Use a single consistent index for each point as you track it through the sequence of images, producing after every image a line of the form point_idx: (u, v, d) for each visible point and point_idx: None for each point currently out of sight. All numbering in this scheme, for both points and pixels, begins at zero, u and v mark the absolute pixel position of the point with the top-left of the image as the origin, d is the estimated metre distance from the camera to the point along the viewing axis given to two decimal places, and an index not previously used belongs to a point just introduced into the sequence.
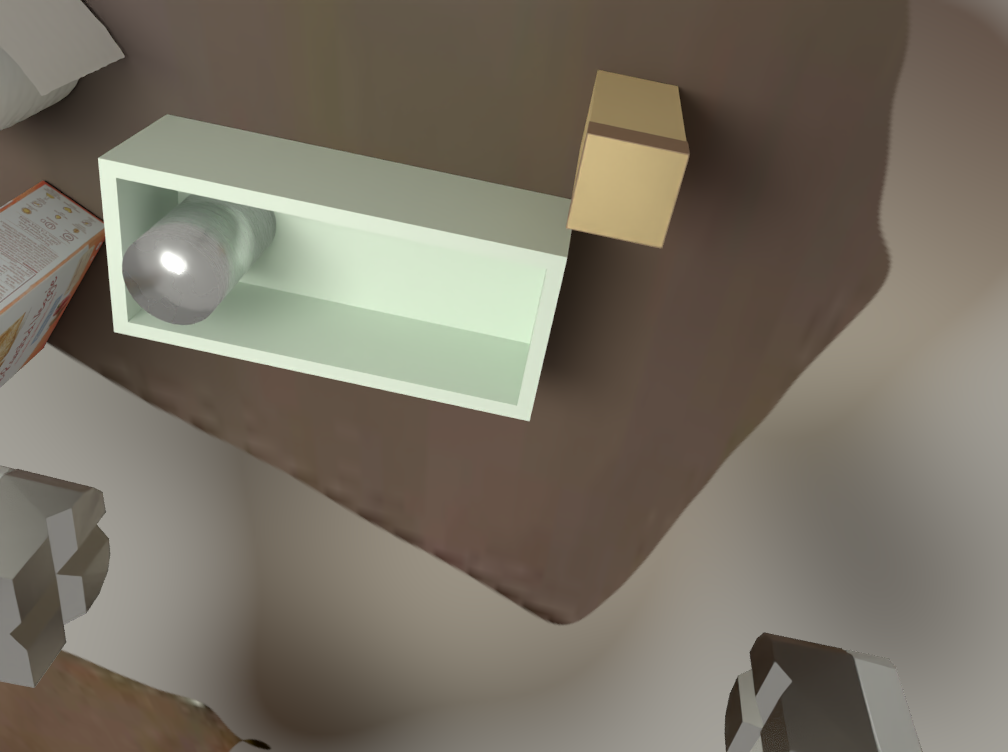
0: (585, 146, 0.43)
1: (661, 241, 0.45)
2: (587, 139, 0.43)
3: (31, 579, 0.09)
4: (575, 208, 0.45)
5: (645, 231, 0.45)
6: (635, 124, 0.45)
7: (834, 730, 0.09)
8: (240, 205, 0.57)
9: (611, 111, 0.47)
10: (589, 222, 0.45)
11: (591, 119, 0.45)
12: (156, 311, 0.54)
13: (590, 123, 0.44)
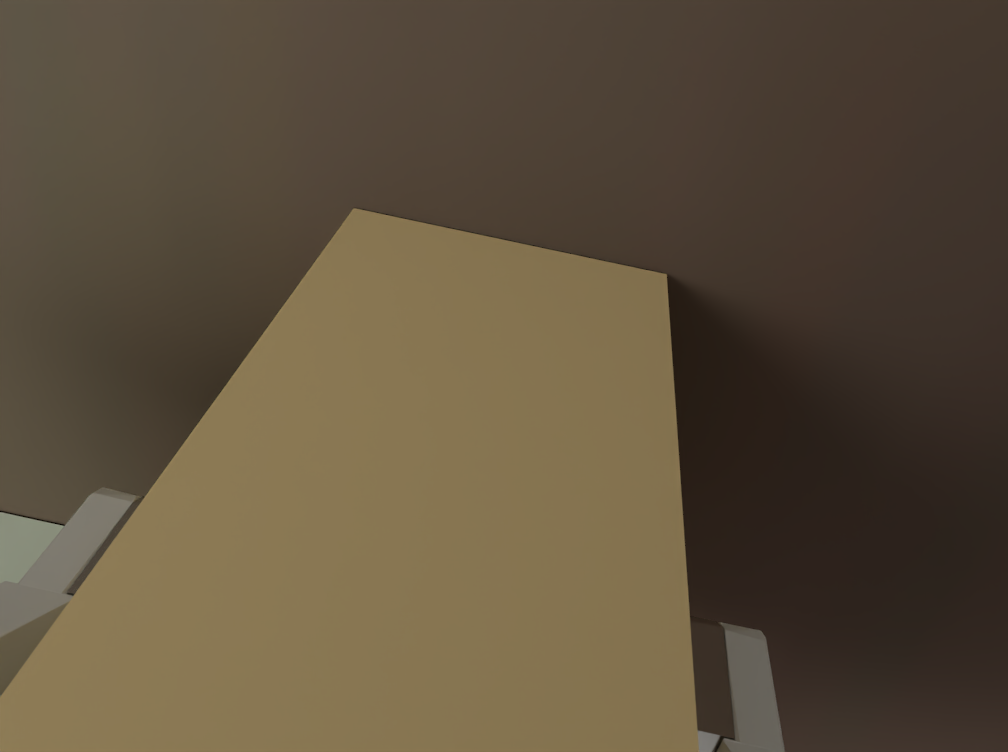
0: None
1: None
2: None
3: None
4: None
5: None
6: None
7: None
8: None
9: (195, 634, 0.07)
10: None
11: None
12: None
13: None
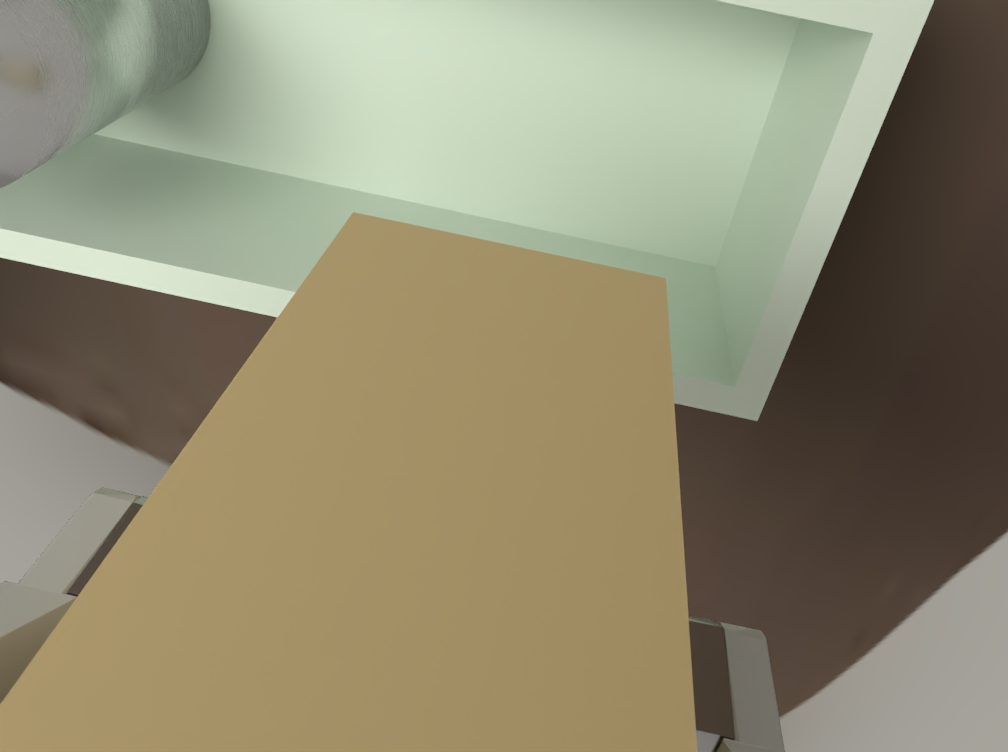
0: None
1: None
2: None
3: None
4: None
5: None
6: None
7: None
8: None
9: (195, 641, 0.07)
10: None
11: None
12: None
13: None
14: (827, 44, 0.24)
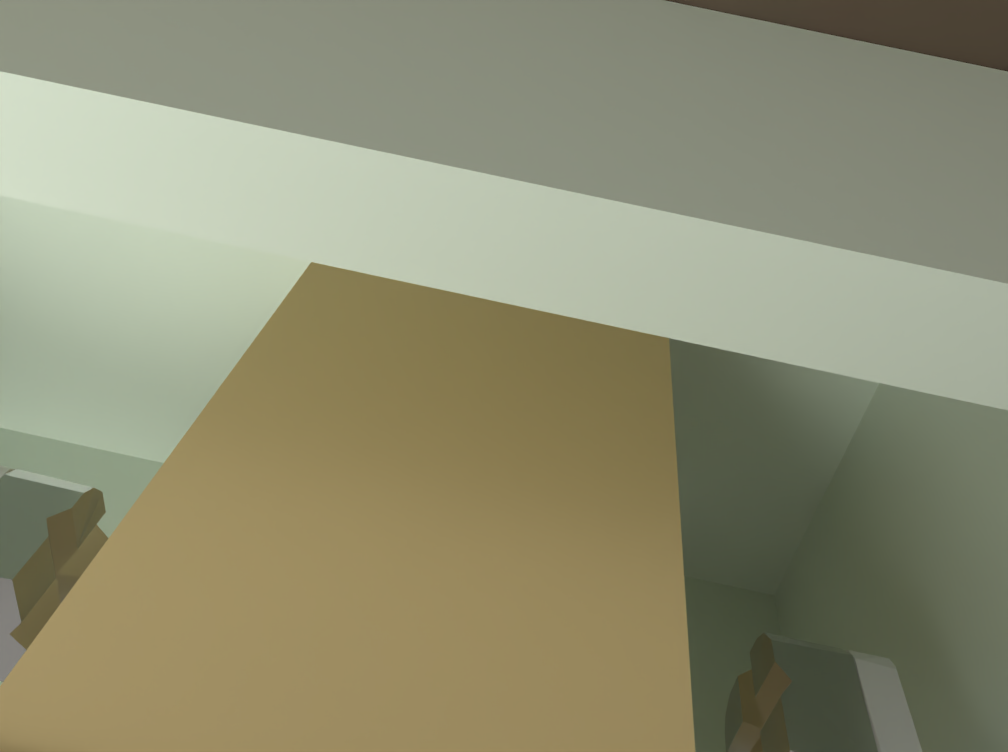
0: None
1: None
2: None
3: (31, 579, 0.09)
4: None
5: None
6: (355, 672, 0.07)
7: (834, 730, 0.09)
8: None
9: (260, 506, 0.08)
10: None
11: (9, 686, 0.06)
12: None
13: None
14: None
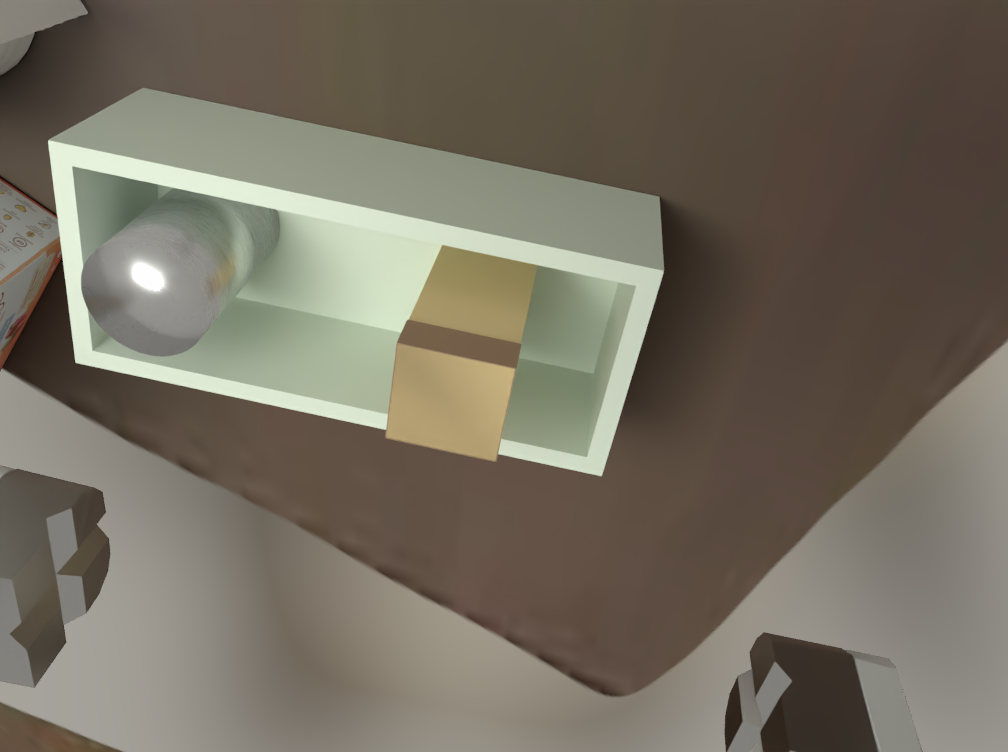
0: (396, 356, 0.37)
1: (494, 454, 0.39)
2: (397, 349, 0.36)
3: (31, 579, 0.09)
4: (394, 418, 0.39)
5: (475, 444, 0.39)
6: (465, 318, 0.39)
7: (834, 730, 0.09)
8: (235, 202, 0.45)
9: (443, 296, 0.40)
10: (411, 433, 0.39)
11: (412, 315, 0.38)
12: (127, 338, 0.42)
13: (407, 324, 0.38)
14: None
